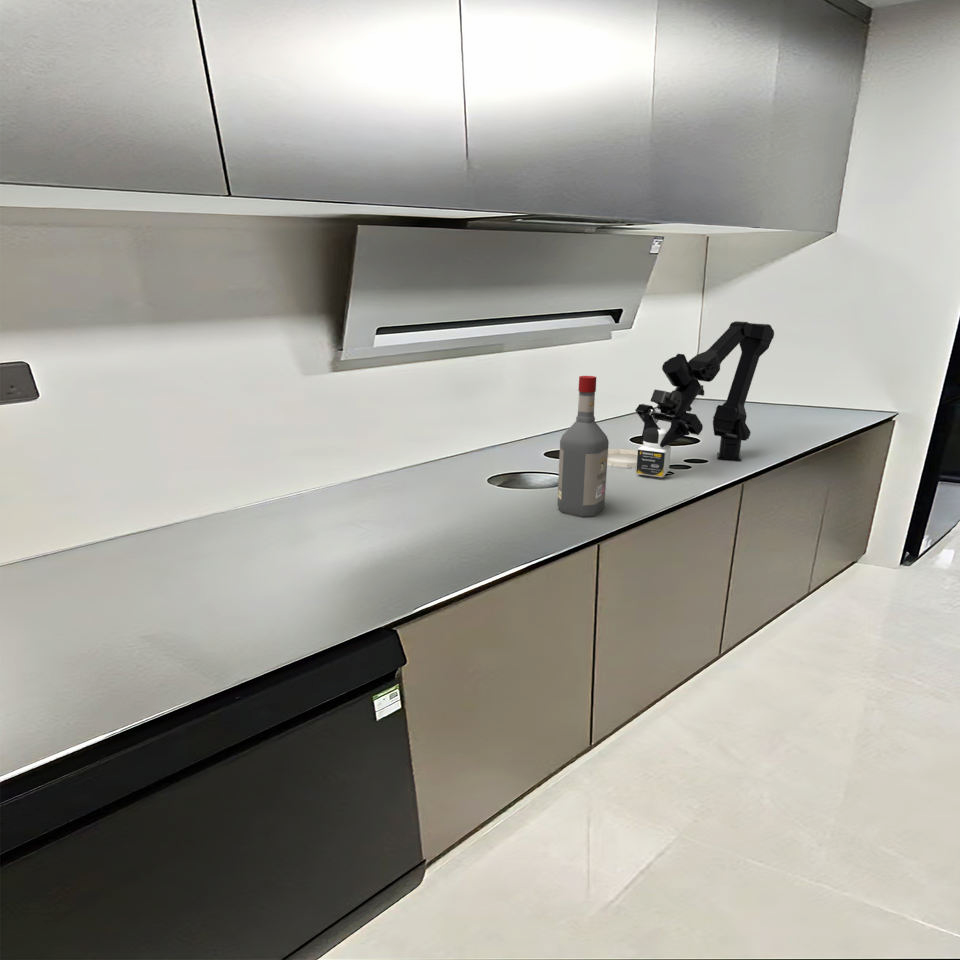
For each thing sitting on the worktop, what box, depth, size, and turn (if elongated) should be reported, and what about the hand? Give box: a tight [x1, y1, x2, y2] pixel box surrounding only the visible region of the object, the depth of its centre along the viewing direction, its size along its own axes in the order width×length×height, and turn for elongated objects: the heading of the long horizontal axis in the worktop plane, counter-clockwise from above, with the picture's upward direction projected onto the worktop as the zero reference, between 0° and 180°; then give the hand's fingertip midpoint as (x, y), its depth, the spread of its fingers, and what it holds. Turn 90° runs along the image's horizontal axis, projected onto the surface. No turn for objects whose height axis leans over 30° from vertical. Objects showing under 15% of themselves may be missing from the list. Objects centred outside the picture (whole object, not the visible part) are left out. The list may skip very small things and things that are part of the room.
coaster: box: [607, 448, 638, 467], centre depth 191 cm, size 16×16×2 cm
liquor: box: [557, 375, 610, 518], centre depth 146 cm, size 9×9×30 cm
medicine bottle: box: [635, 427, 672, 478], centre depth 175 cm, size 7×7×12 cm
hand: (651, 443), depth 174 cm, fingers closed on medicine bottle, 6 cm apart
